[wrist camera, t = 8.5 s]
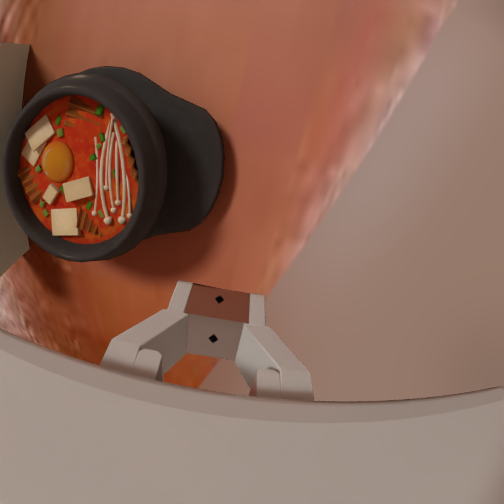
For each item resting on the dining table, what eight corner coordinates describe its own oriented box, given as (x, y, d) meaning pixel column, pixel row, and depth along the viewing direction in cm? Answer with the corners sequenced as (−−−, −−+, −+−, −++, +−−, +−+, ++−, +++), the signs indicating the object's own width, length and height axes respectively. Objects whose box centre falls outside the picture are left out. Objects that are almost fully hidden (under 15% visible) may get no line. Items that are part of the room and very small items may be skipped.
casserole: (242, 76, 24) (239, 66, 16) (211, 256, 32) (201, 305, 25) (24, 75, 21) (-26, 80, 14) (25, 223, 30) (-14, 255, 23)
